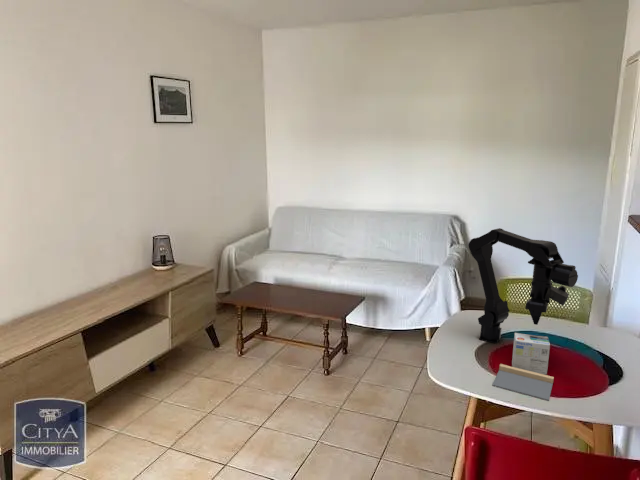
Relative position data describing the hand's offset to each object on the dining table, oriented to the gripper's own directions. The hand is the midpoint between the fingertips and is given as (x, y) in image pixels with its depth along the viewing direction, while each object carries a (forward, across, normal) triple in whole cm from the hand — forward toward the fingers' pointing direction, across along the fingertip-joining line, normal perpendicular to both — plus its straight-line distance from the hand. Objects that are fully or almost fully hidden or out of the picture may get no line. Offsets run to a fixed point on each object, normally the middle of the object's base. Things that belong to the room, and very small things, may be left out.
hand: (536, 322), depth 162 cm
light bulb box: (+13, -9, 0) cm, 16 cm away
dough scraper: (+13, -21, 0) cm, 25 cm away
